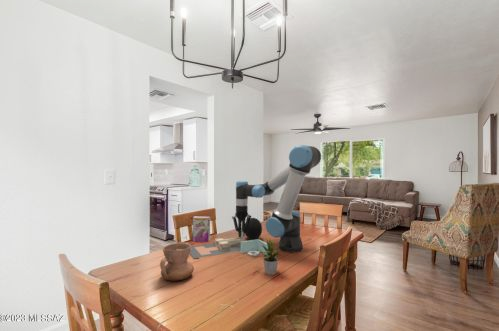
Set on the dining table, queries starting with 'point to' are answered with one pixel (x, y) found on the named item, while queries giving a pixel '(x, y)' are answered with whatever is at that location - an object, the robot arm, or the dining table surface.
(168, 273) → the ceramic jug
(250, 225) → the decorative egg
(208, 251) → the board
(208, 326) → the dining table surface
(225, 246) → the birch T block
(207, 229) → the candy bar box
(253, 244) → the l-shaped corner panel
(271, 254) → the house plant
